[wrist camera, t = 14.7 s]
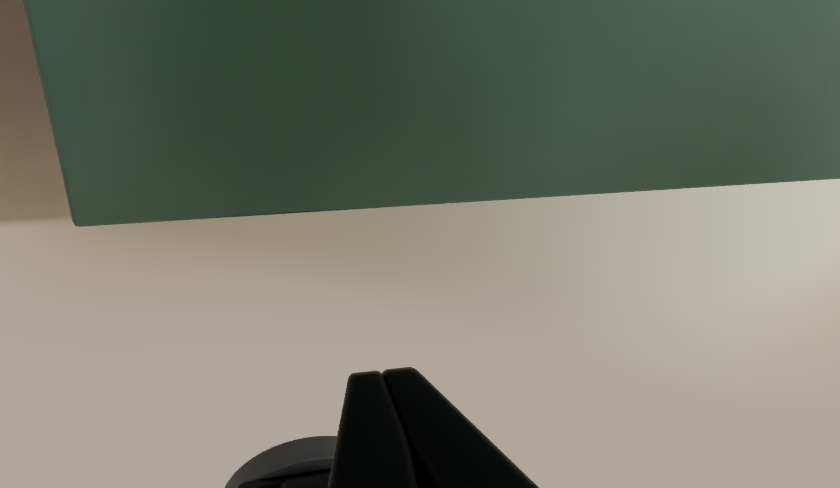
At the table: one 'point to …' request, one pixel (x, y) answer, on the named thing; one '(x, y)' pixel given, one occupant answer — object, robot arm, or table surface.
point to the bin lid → (427, 100)
